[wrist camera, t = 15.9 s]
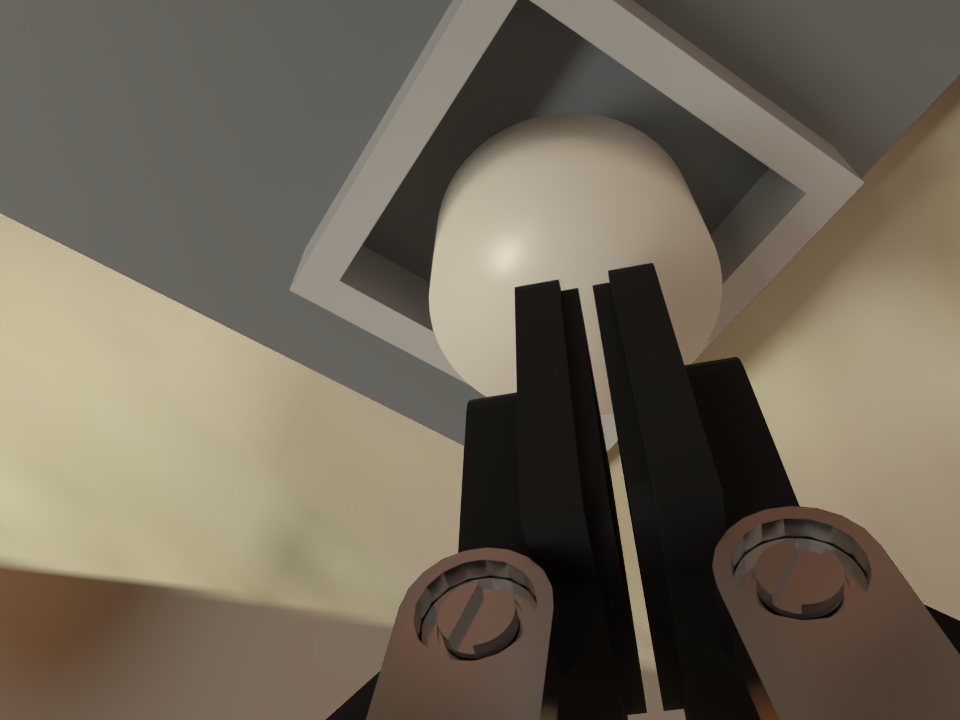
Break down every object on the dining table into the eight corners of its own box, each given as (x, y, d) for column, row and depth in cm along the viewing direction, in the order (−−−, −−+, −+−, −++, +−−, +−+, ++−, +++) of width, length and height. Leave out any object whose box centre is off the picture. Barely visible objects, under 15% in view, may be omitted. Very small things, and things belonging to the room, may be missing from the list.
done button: (389, 271, 14) (376, 339, 12) (532, 57, 12) (538, 104, 10) (589, 382, 15) (602, 458, 14) (749, 204, 13) (785, 266, 12)
